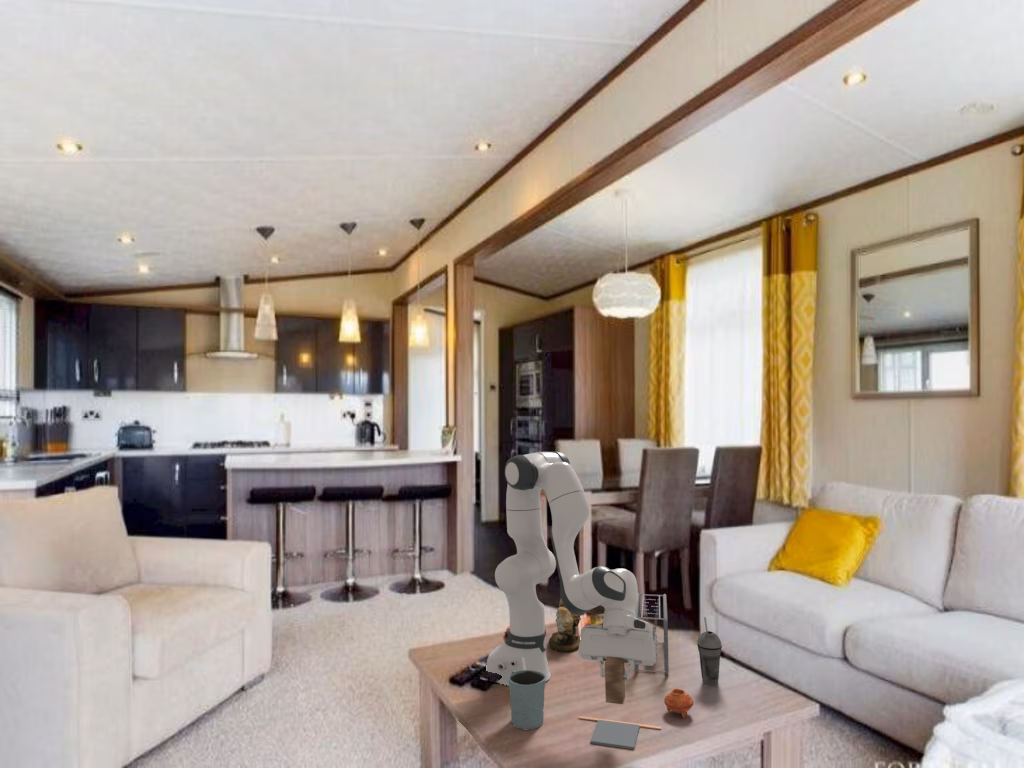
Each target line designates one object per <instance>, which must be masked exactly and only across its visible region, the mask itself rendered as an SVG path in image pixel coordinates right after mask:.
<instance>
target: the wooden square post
mask: <svg viewBox="0 0 1024 768" xmlns="http://www.w3.org/2000/svg"><path fill="white" fill-rule="evenodd" d="M604 668H605V677H604V684H605V685H604V687H605V688H604V689H605V690H604V691H605V703H606V704H607V703H609V704H616V705H624V704H625V703H624V702H625V699H626V680H625V679H623V670H625V663H624V659H621V658H610V657H607V659H606V661H604Z"/></svg>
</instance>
